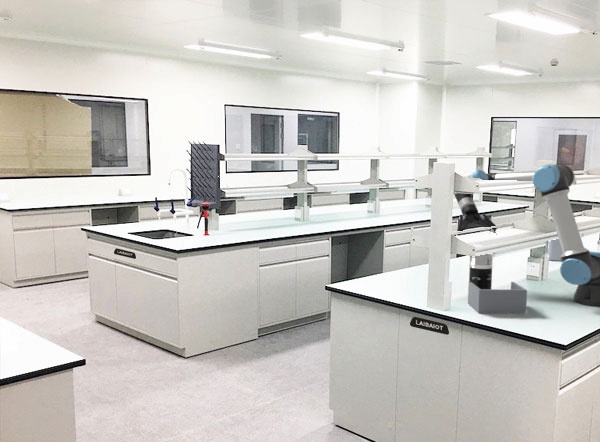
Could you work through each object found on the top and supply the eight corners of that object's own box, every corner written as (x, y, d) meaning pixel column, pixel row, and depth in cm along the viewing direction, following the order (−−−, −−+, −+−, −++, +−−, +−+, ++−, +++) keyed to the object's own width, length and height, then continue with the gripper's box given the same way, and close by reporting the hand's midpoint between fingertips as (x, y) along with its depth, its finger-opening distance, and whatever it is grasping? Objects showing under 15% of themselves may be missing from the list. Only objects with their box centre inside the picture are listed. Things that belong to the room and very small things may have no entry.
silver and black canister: (495, 298, 261) (497, 245, 258) (485, 302, 253) (487, 248, 250) (474, 295, 268) (475, 243, 265) (464, 299, 260) (465, 245, 257)
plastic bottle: (571, 261, 351) (573, 217, 348) (545, 260, 354) (547, 216, 351) (564, 257, 366) (566, 214, 363) (539, 256, 369) (541, 214, 365)
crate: (512, 303, 252) (513, 281, 251) (525, 313, 237) (527, 290, 236) (467, 303, 253) (468, 281, 251) (478, 313, 237) (479, 289, 236)
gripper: (488, 212, 288) (503, 245, 275) (442, 214, 283) (455, 247, 270) (494, 202, 282) (509, 236, 269) (447, 204, 278) (461, 238, 264)
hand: (482, 242), depth 270 cm, fingers open, 13 cm apart
